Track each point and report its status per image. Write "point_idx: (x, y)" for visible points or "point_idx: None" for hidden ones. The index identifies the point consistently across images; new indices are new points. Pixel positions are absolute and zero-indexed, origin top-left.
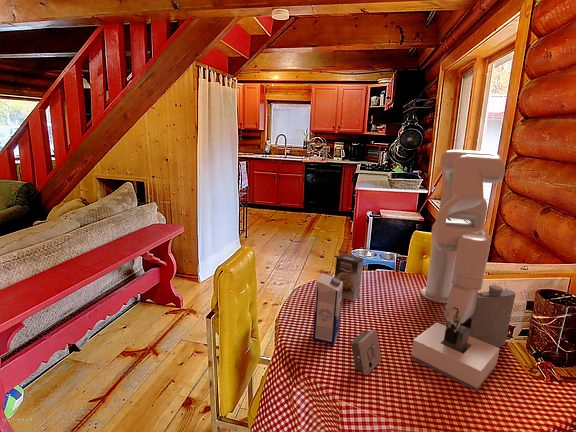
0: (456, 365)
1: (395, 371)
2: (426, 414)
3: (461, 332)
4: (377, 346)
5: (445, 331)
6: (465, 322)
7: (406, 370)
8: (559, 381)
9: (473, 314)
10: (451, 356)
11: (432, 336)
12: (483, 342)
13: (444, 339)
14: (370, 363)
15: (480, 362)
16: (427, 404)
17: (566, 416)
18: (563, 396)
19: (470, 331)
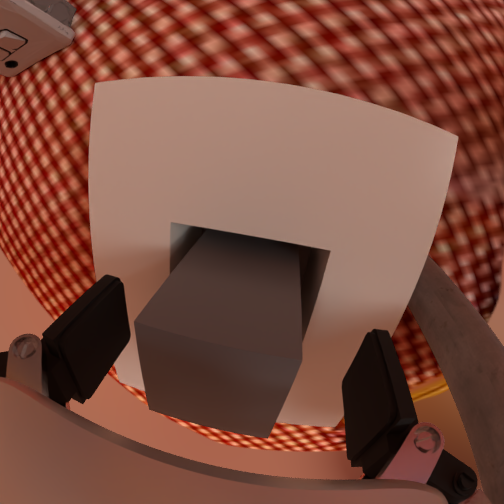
0: None
1: (58, 105)
2: (13, 241)
3: (159, 402)
4: (27, 26)
5: (66, 311)
6: (361, 414)
7: (80, 125)
8: (345, 442)
9: (468, 429)
10: None
11: (217, 152)
12: None
13: (104, 277)
14: (15, 59)
15: None
16: (28, 234)
17: (225, 442)
18: (291, 446)
19: (429, 341)
